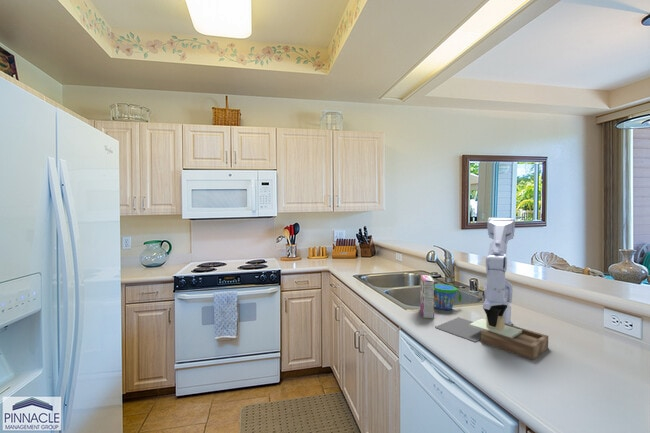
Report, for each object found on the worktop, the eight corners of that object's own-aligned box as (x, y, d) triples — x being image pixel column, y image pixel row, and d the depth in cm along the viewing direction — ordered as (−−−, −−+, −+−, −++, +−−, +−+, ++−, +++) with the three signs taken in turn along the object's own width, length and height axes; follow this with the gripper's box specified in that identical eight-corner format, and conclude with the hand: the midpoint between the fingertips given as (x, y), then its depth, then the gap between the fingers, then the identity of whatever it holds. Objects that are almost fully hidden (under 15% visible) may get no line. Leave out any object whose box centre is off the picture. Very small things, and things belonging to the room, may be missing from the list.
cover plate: (482, 320, 118) (482, 308, 118) (522, 332, 107) (522, 318, 107) (469, 326, 112) (469, 313, 112) (510, 339, 101) (511, 325, 101)
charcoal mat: (458, 317, 130) (458, 317, 130) (497, 330, 117) (497, 329, 117) (434, 327, 119) (434, 326, 119) (475, 342, 106) (475, 341, 106)
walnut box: (498, 332, 115) (498, 321, 115) (548, 347, 103) (548, 335, 103) (480, 341, 107) (481, 330, 107) (532, 360, 94) (533, 347, 94)
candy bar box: (419, 309, 141) (420, 274, 140) (430, 310, 140) (431, 275, 139) (422, 318, 130) (423, 280, 129) (434, 319, 129) (435, 281, 128)
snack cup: (458, 305, 147) (458, 284, 147) (464, 312, 137) (465, 290, 136) (424, 303, 150) (425, 283, 149) (428, 310, 139) (429, 288, 139)
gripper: (498, 293, 102) (497, 333, 102) (515, 287, 111) (514, 323, 111) (477, 289, 107) (476, 326, 108) (495, 283, 116) (494, 317, 117)
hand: (494, 324), depth 110 cm, fingers closed on cover plate, 3 cm apart
